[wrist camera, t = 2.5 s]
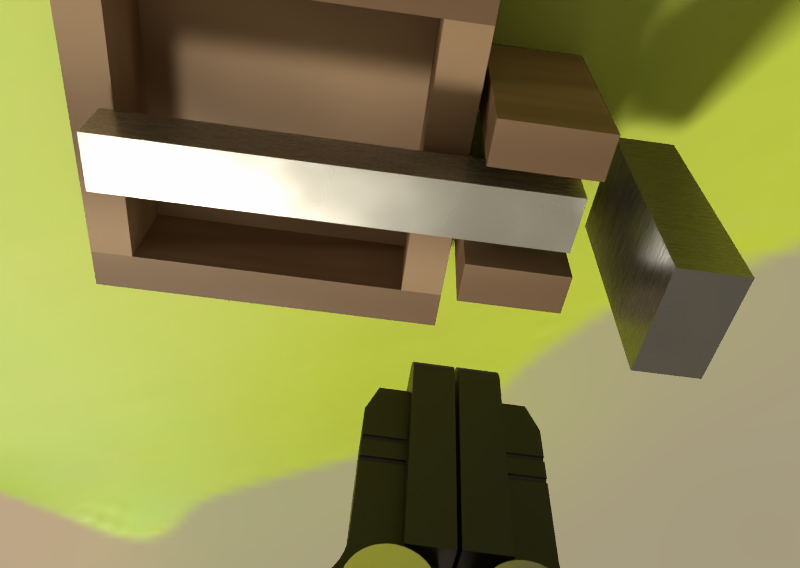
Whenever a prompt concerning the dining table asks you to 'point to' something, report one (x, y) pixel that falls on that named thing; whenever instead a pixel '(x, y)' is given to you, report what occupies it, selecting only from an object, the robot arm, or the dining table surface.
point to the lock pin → (459, 212)
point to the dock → (335, 119)
